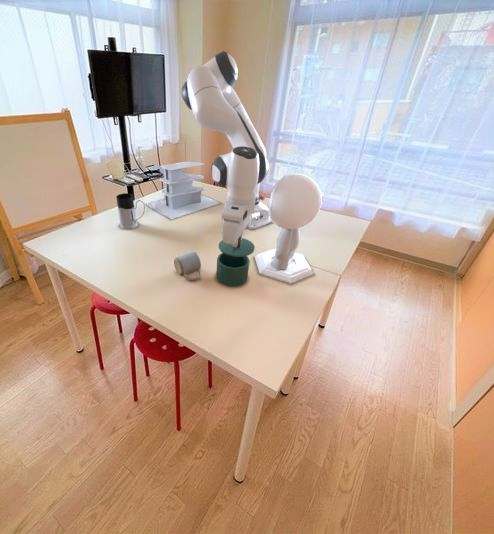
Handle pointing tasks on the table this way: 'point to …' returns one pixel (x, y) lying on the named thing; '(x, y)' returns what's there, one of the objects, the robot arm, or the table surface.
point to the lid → (237, 248)
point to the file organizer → (181, 192)
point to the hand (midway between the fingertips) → (236, 243)
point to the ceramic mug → (188, 264)
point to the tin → (232, 270)
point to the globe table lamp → (290, 227)
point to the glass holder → (127, 211)
